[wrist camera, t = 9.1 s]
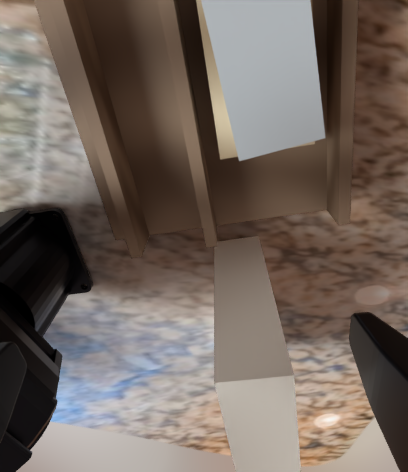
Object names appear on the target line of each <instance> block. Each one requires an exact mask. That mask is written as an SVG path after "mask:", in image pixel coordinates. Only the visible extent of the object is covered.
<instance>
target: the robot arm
mask: <svg viewBox="0 0 408 472" xmlns="http://www.w3.org/2000/svg"><path fill="white" fill-rule="evenodd" d="M53 214H56V215H57V216H58V217H59V219H58V218H55V217H54V215H53ZM83 284H86V285H87V286H84V285H83ZM92 286H93V282H92V280H91V278H90V275H89V273H88V270H87V268H86V265H85V263H84V260H83V258H82V255H81V253H80V250H79V248H78V246H77V243H76V241H75V238H74V236H73V233H72V231H71V228H70V226H69V223H68V221H67V218H66V216H65V214H64V212H63V211H62V210H61V209H59V208H51V209H45V210H39V211H32V212H29V211H28V210H25V209H18V210H12V211H6V212H0V472H16V471H17V470H18V469H19V468H20V467H21V466H22V465H24V464H25V463H26V462H27V461H28V460H29V459H30V458H31V455H32V452H31V451H30V449H31V448H32V447H33V446H34V445H35V444H36V443H37V441H38V440H39V439H40V437H41V436H42V434H43V433H44V431H45V429H46V428H47V426H48V424H49V422H50V420H51V418H52V415H53V413H54V411H55V409H56V405H57V399H56V393H57V387H58V382H59V374H60V368H61V362H62V354H61V353H60V352H59V351H58V350H57V349H53V348H52V347H51V346H50V345H49V344H48V343H47V341H46V340H45V339H44V338H43V335H44V334H45V332H46V330H47V329H48V327H49V325H50V324H51V322H52V321H53V319H54V317H55V316H56V314H57V313H58V311H59V309H60V308H61V306H62V304H63V303H64V301H65V300H66V298H67V296H68V295H69V294H77V293H85V292H89V291H90V290H91V288H92ZM349 341H350V346H351V349H352V352H353V355H354V358H355V361H356V365H357V368H358V371H359V374H360V377H361V380H362V383H363V386H364V389H365V392H366V395H367V398H368V400H369V403H370V406H371V408H372V411H373V413H374V415H375V418H376V420H377V422H378V424H379V426H380V429H381V430H382V433H383V435H384V437H385V439H386V442H387V444H388V446H389V448H390V450H391V453H392V455H393V457H394V459H395V461H396V464H397V466H398V468H399V470H400V472H408V338H407V337H406V336H404V335H403V334H401V333H400V332H398V331H397V330H395V329H394V328H392V327H391V326H389V325H388V324H387V323H385V322H384V321H382V320H381V319H379V318H378V317H376V316H375V315H373V314H372V313H370V312H361V313H354V314H352V316H351V323H350V334H349Z"/></svg>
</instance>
